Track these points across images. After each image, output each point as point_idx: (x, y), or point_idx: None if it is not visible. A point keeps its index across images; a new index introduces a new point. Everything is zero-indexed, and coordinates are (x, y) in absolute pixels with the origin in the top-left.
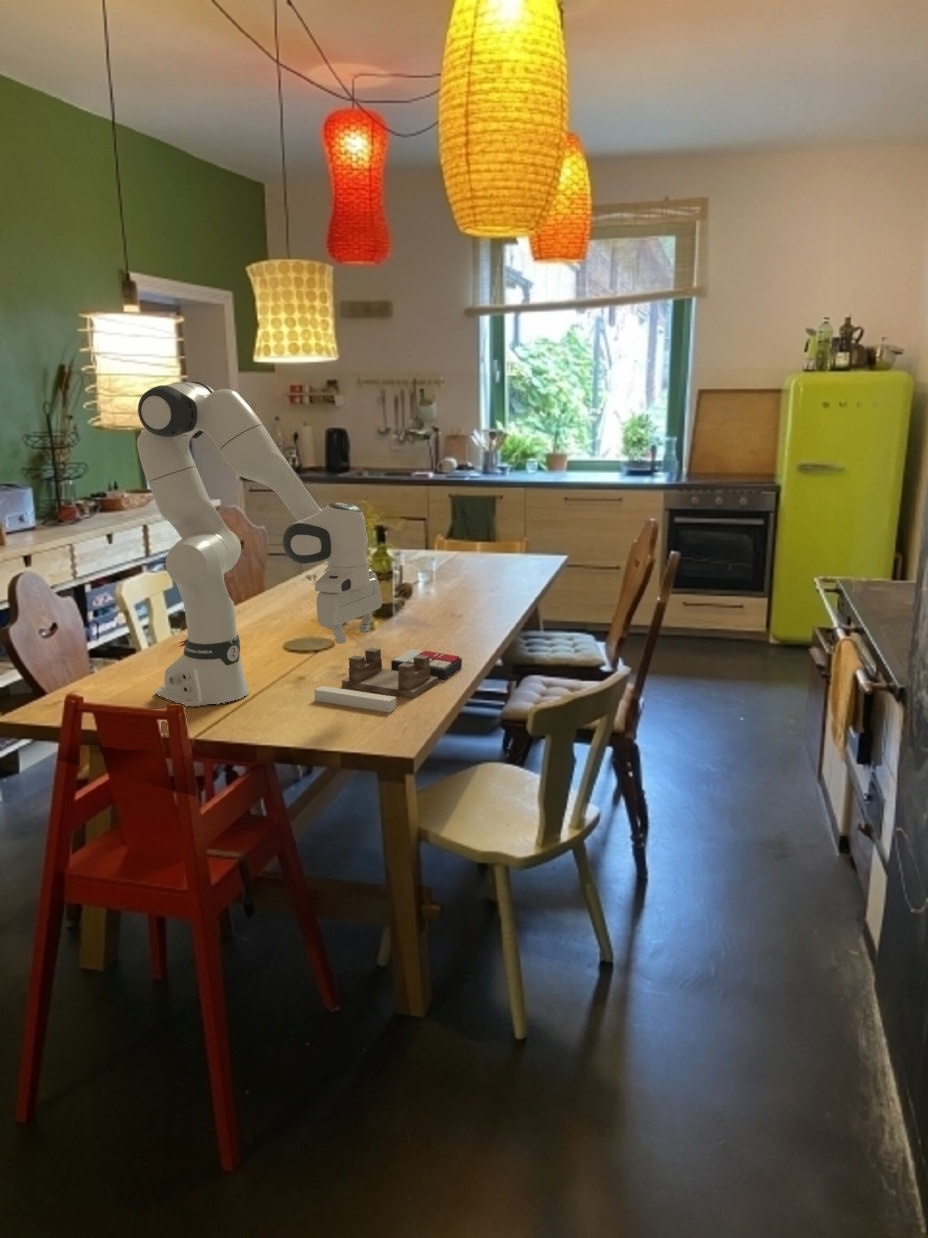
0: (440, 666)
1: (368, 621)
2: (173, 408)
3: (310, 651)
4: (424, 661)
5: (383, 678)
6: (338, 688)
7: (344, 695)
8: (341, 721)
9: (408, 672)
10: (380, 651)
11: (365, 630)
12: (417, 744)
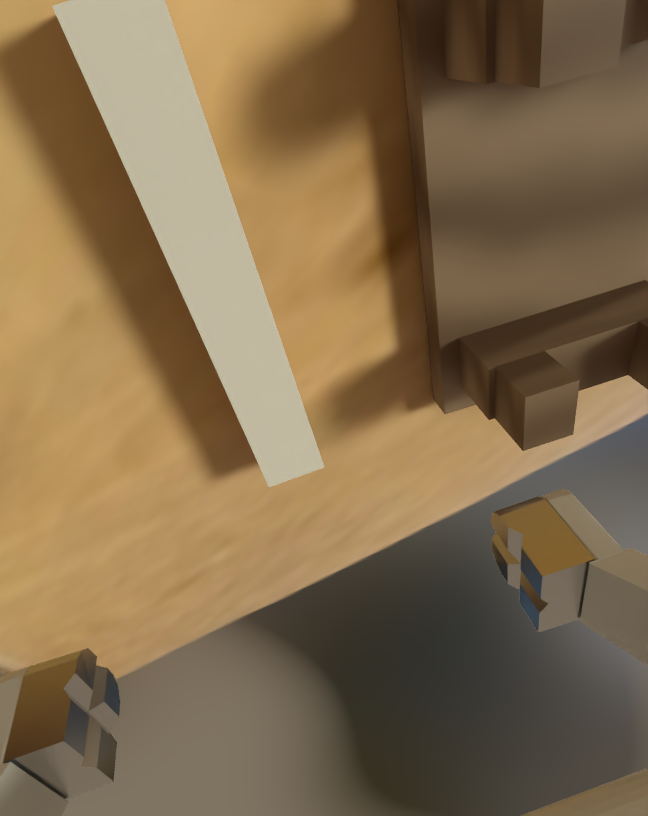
0: None
1: (623, 642)
2: None
3: None
4: None
5: (553, 160)
6: (213, 154)
7: (173, 274)
8: (32, 410)
9: (507, 429)
10: None
11: (505, 575)
12: (141, 661)
